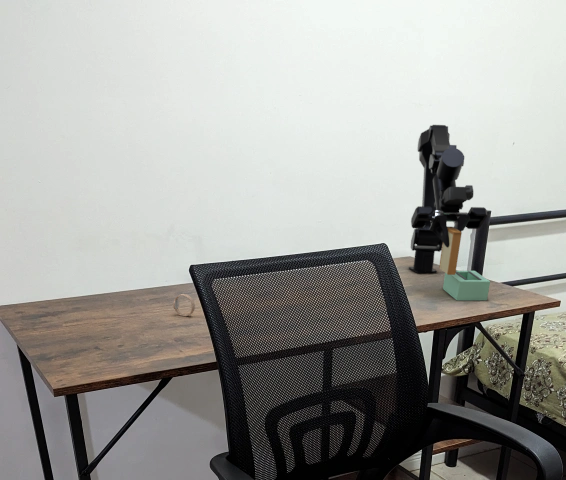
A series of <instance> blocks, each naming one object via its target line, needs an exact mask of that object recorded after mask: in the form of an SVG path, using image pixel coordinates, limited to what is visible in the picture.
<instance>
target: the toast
mask: <svg viewBox="0 0 566 480" xmlns="http://www.w3.org/2000/svg"><path fill="white" fill-rule="evenodd" d="M447 230H448V236H449V247H446V246H445V244H444V243H443V244H442V250H441V251H440V259H439V266H438V268H439V270H441V271H443V272H444V274H445V273H446V274H448V275H455V273H456V271H457V265H458V259H459V253H460V246H461V240H462V234H463V231H461V232H460V231H459V230H457V229H455V228H454V226H447Z"/></svg>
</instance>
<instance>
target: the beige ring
mask: <svg viewBox="0 0 566 480" xmlns="http://www.w3.org/2000/svg"><path fill="white" fill-rule="evenodd" d="M179 297H185V298H187V299H188V301H189V302H190V305H191V310H190V312H189V313H188V314H186V313H183V312H182V311H181V310H180V309H179V307H180V300H179ZM172 303H173V304H172V305H173V306H172V307H173V310H174V312H176V313H177V315H179V316H181V317H189V316H191V315H192V314H193V313H194V311H195V309H196V304H195V301H194V299H193V297H191V296H190V295H189V294H187V293H181V294H179V295H177V296H176V297H175V298H174V300H173V302H172Z"/></svg>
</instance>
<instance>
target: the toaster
mask: <svg viewBox="0 0 566 480" xmlns="http://www.w3.org/2000/svg"><path fill="white" fill-rule="evenodd" d="M443 277H444V278H443V285H442V286H443V287H442V290H444V291H445V292H446V293H447V294H448V295H450V297H452V298H453V299H454V300H455V301H488V296H489V291H490V286H491V281H490V280H489V279H487V278H486V277H485V276H483V275H481V274H480V273H479V272H477V271H476V270H456V273H455V275H448V274H446V273H445V272H444V276H443Z"/></svg>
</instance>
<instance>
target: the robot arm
mask: <svg viewBox="0 0 566 480" xmlns="http://www.w3.org/2000/svg"><path fill="white" fill-rule="evenodd" d="M450 137H451V135H450V133H449V126H448V125H446V124H432V125H429V128H428V129H426V130H424V131H422V132H421V133H420V135H419V137H418V141H417V152H418V154H419V155H418V160H419V162H420V164H421V165H422V167H423V182H422V183H423V184H422V198H421V199H422V202H421V203H422V204H421V206H420V205H419V206H416V207H415V209H414V212H413V213H412V216H411V219H410V225H411V228H412V229H413V231H412V235H411V239H410V250H411V251H413V252H414V251H415V252H414V260H413V266H408V269H409V270H411V271H413V272H415V273H416V274H430V273H431V274H432V273H437V272H438V271H437V270H436V269H434V260H435V253H436V252H438V253H441V251H442V244H443V243H444V244H445V246H446V247H449V236H448V230H447V227H448V225H447V223H450V222H451V223H453V227H454V228H455V229H457V230H459V231H460V232H463V231H464V230H465V228H466V229H468V230H479V229H480V228H481V227H482V226H483V224H484V223H485V220H486V219H487V217H488V211H487V209H486V207H481V206H471V207H470V208H469V210H468V212H464V211H463V212H461V211H460V210H463V207H464V203H465V202H467V201H471V200H472V199H473V198H474V186H473V185H471V184H467V185H466V184H465V186H457V182H456V181H458V179H459V177H460V173H461V170H462V168H463V167H464V164H465V154H464V153H463V152H462V150H460V149H458V148H457V144H451V142H450Z"/></svg>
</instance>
